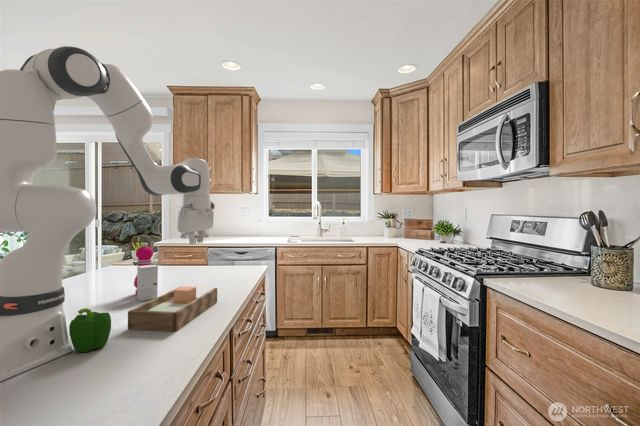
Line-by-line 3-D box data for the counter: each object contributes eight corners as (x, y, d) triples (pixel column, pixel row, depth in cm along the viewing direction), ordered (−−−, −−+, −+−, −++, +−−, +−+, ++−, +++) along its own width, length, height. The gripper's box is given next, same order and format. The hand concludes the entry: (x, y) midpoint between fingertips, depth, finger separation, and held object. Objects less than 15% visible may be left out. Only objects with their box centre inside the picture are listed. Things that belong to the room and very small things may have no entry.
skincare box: (140, 301, 116) (139, 267, 116) (136, 299, 120) (136, 266, 119) (158, 298, 121) (158, 265, 120) (154, 295, 124) (154, 264, 124)
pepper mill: (159, 291, 130) (159, 241, 129) (147, 296, 123) (147, 243, 122) (141, 291, 131) (141, 241, 130) (129, 296, 123) (129, 243, 123)
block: (188, 302, 105) (188, 290, 105) (174, 302, 106) (174, 290, 106) (196, 298, 110) (196, 286, 110) (181, 298, 111) (181, 286, 111)
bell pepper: (104, 338, 84) (104, 299, 84) (116, 347, 79) (116, 306, 79) (64, 349, 78) (63, 307, 78) (74, 359, 72) (73, 314, 72)
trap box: (176, 331, 89) (176, 313, 89) (127, 329, 90) (127, 311, 90) (217, 301, 117) (217, 288, 117) (179, 300, 118) (179, 286, 118)
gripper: (191, 204, 105) (191, 247, 105) (216, 204, 125) (216, 240, 125) (172, 204, 105) (172, 246, 105) (200, 204, 126) (200, 240, 126)
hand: (196, 243), depth 116 cm, fingers open, 4 cm apart
